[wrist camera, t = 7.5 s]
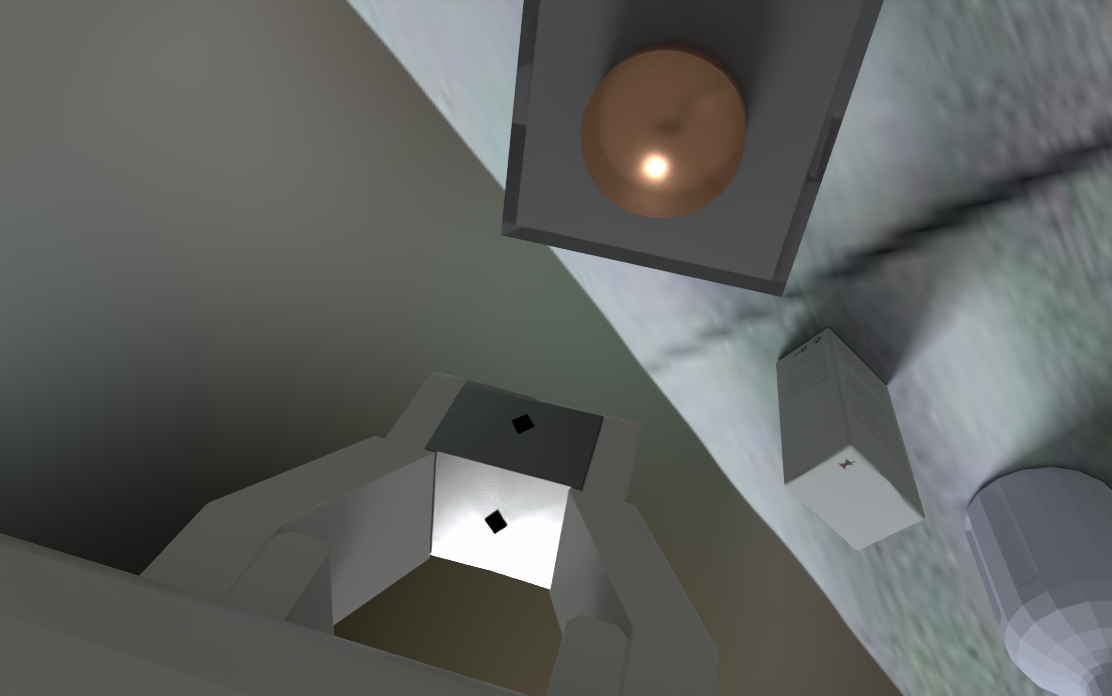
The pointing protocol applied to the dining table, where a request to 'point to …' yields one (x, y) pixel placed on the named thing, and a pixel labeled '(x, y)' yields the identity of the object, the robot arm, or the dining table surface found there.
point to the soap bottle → (1049, 574)
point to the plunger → (665, 130)
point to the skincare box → (844, 443)
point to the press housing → (771, 128)
